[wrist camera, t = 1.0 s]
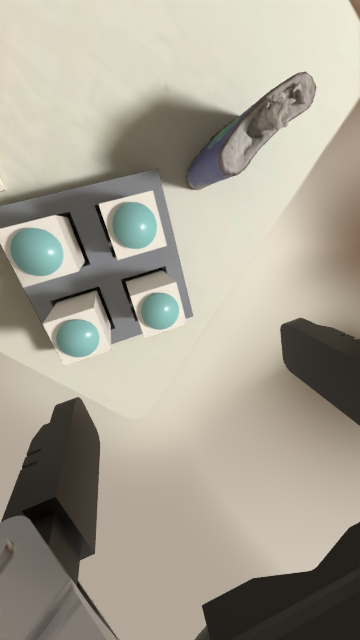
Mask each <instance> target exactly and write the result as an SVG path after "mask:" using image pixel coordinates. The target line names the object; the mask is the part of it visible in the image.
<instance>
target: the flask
mask: <svg viewBox="0 0 360 640" xmlns="http://www.w3.org/2000/svg"><path fill="white" fill-rule="evenodd" d="M315 91H316V85H315V83H314V81H313V78H312V77H311V76H310V75H309V74H308V73H307V72H301V73H297V74H295V75H294V76H292V77H290V78H289V79H287V80H286V81H284V82H282V83H281V84H280V85H278V86H277V87H275V88H274V89H272V90H271V91H270V92H268V93H267V94H266V95H264V96H263V97H262V98H261V99H260V100H259V101H258V102H256V103H255V104H254V105H252V106H251V107H250V108H249V109H248V110H247V111H245V112H244V113H243V114H242V115H240V116H239V117H237V118H236V119H235V120H233V121H231V122H230V123H229V124H228V125H226V126H224V128H223V129H221V130H220V131H219V132H217V134H216V135H215V136H213V137H212V138H211V140H210V141H209V143H208V144H206V146H205V147H204V148H203V149H202V151H201V152H200V154H199V155H198V156H197V157H196V158H195V159H194V161H193V162H192V164H191V166H190V167H189V169H188V172H187V175H186V178H187V182H188V184H189V186H190V187H191V188H193V189H196V190H200V189H202V188H204V187H206V186H209V185H211V184H213V183H216V182H218V181H221V180H224V179H227V178H229V177H232V176H236V175H238V174H240V173H241V172H242V171H243V170H245V168H246V167H247V166H248V164H249V163H250V161H251V160H252V158H253V157H254V156H255V154H256V153H257V152H258V150H259V149H260V148H261V147H262V146H263V145H264V144H265V143H266V142H267V141H268V140H269V139H270V138H271V137H272V136H273V135H274V134H275V133H276V132H277V131H278V130H279V129H281V128H283V127H286V126H287V124H288V122H289V121H291V120H292V119H294V118H295V117H297V116H298V115H300V114H301V113H303V112H304V111H306V110H307V109H308V108H309V107H310V106H311V104H312V102H313V98H314V96H315Z"/></svg>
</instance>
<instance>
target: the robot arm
mask: <svg viewBox="0 0 360 640" xmlns="http://www.w3.org/2000/svg"><path fill="white" fill-rule="evenodd" d="M280 331H281V343H282V354H283V360H284V363H285V364H286V367H287V368H288V369H289V371H290V372H291V373H293V374H294V375H295V376H297V377H298V378H299V379H301V380H302V381H303V382H304V383H306V384H307V385H308V386H310V387H311V388H312V389H313V390H315V391H316V392H317V393H318V394H320V395H321V396H322V397H324V398H325V399H326V400H327V401H329V402H330V403H331V404H333V405H334V406H335V407H337V408H338V409H339V410H340V411H342V412H343V413H344V414H345V415H347V416H348V417H349V418H351V419H352V420H353V421H354V422H356V423H357V424H358V425H360V339H358V340H357V339H356V338H355V337H353V336H350V335H348V334H347V335H346V334H345V333H343V332H341V331H339V330H336V329H334V328H331V327H326V326H320V325H317V324H314V323H312V322H310V321H308V320H305V319H303V318H298V319H296V320H293V321H290V322H287V323H284V324H282V326H281V329H280ZM99 458H100V441H99V435H98V432H97V429H96V427H95V425H94V423H93V421H92V419H91V417H90V415H89V413H88V411H87V409H86V407H85V405H84V403H83V401H82V400H81V399H80V398H79V397H77V398H74V399H71V400H68V401H66V402H63V403H60V404H57V405H56V406H55V408H54V411H53V414H52V417H51V420H50V423H48V424H45V425H43V426H42V427H41V429H40V430H39V431H38V433H37V434H36V435H35V437H34V438H33V440H32V441H31V444H30V447H29V449H28V452H27V457H25V460H24V463H23V465H22V470H21V471H20V473H19V476H18V479H17V481H16V484H15V487H14V489H13V492H12V495H11V497H10V500H9V503H8V505H7V508H6V510H5V513H4V516H3V519H2V521H1V523H0V640H120V639H119V638H118V637H117V635H116V633H115V632H114V630H113V629H112V628H111V626H110V625H109V623H108V622H107V620H106V619H105V618H104V616H103V615H102V613H101V612H100V610H99V609H98V608H97V606H96V605H95V603H94V602H93V600H92V599H91V597H90V596H89V595H88V593H87V592H86V590H85V589H84V587H83V586H82V585H81V583H80V582H79V581H78V573H79V563H80V560H82V559H84V558H86V557H88V556H91V555H93V554H95V540H96V520H97V499H98V479H99V477H98V476H99ZM202 608H203V612H204V616H205V620H206V624H207V626H206V627H205V628H204V629H203V630H202V631H201V633H200V634H199V635H198V636H197V637H196V639H195V640H360V522H359V523H358V524H355V525H353V526H351V527H350V528H349V529H348V530H347V531H346V532H345V533H344V535H343V536H342V537H341V538H340V540H339V541H338V542H337V543H336V545H335V546H334V547H333V548H332V549H331V551H330V552H329V553H328V554H327V556H326V557H325V558H324V559H323V560H322V561H321V563H320V564H319V565H318V566H317V567H316V568H315V569H313V570H312V571H308V572H300V573H292V574H284V575H276V576H268V577H261V578H253V579H251V580H249V581H247V582H245V583H243V584H241V585H240V586H238V587H236V588H234V589H232V590H230V591H228V592H226V593H225V594H223V595H221V596H219V597H217V598H215V599H213V600H211V601H209V602H207V603H205V604H204V605H202Z"/></svg>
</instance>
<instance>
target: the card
mask: <svg viewBox="0 0 360 640" xmlns="http://www.w3.org/2000/svg"><path fill="white" fill-rule="evenodd" d="M1 191H5V188H4V186H3V184H2V182H1V180H0V192H1Z"/></svg>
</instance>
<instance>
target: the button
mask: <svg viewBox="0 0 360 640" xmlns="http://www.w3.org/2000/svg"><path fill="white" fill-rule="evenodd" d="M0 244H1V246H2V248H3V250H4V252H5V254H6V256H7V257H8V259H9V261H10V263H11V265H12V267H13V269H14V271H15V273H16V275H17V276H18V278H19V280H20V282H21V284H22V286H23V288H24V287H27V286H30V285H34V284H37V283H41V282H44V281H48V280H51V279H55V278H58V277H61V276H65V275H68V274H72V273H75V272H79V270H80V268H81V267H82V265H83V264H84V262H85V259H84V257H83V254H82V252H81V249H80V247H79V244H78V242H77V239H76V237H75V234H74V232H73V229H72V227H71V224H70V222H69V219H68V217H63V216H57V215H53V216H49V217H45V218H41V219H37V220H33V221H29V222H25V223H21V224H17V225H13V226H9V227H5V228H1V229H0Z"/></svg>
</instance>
